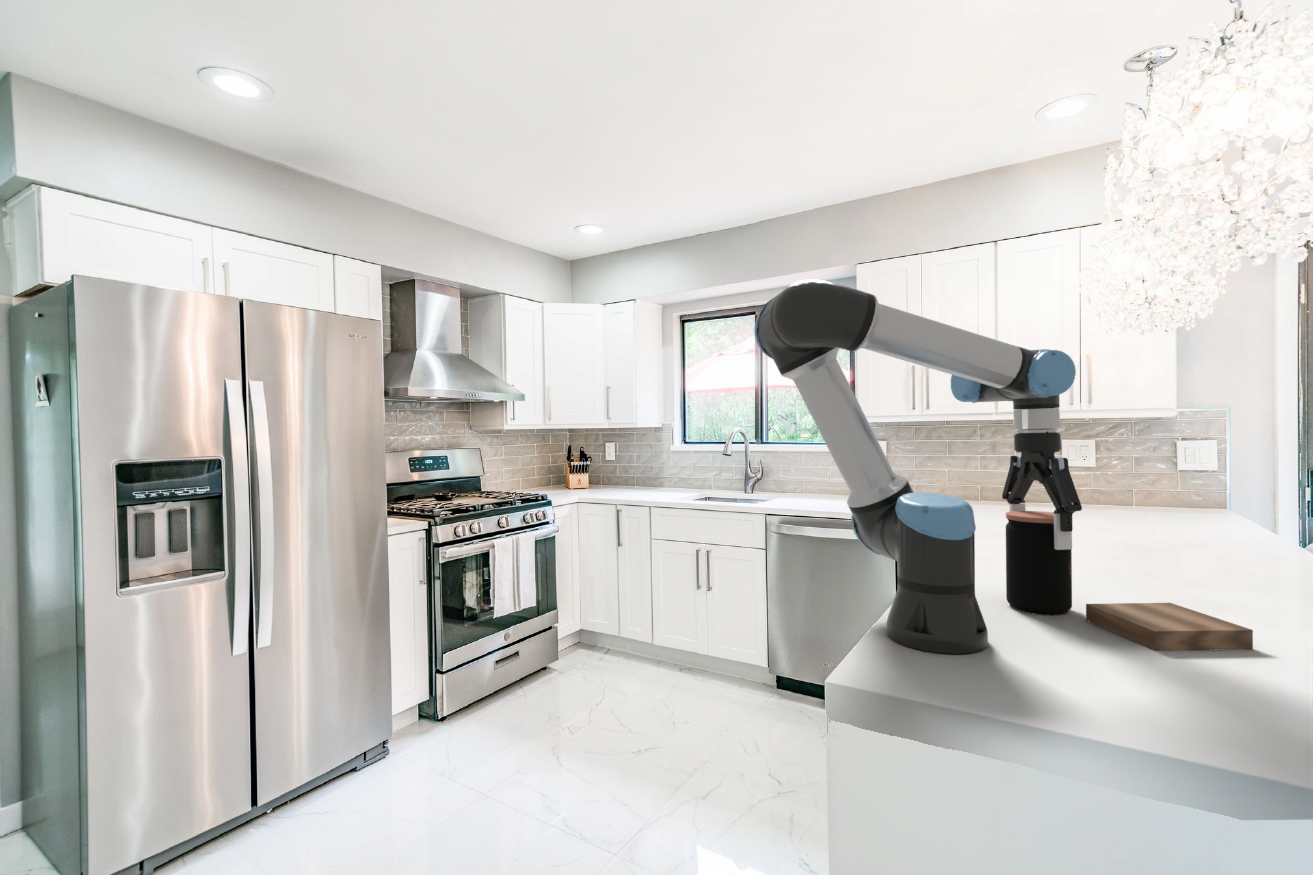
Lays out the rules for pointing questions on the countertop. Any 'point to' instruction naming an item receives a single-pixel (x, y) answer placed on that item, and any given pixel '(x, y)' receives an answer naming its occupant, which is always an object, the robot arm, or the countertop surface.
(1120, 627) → the walnut riser
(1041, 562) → the coffee jar
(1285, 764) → the countertop surface
